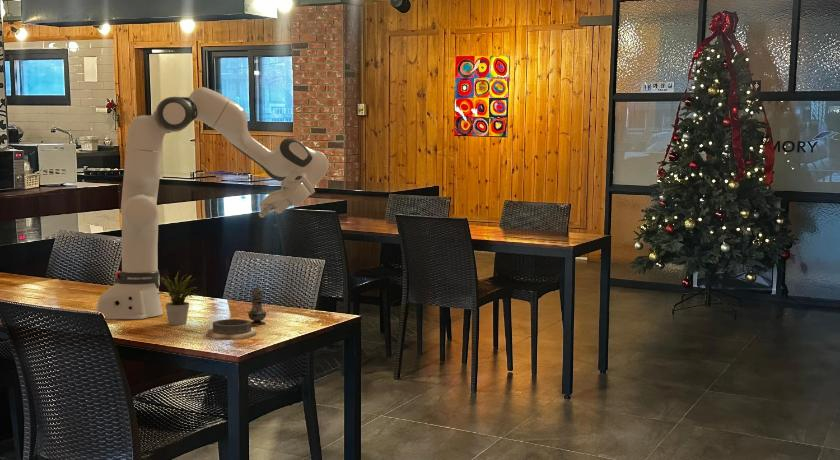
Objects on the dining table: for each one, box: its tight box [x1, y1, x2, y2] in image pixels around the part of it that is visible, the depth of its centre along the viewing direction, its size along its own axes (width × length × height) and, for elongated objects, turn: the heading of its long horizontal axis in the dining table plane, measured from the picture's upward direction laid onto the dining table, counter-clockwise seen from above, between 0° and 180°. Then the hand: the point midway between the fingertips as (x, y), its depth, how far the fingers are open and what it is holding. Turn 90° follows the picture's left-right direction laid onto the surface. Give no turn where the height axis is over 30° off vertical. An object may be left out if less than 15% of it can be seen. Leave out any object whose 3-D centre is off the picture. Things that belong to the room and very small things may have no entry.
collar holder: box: [206, 318, 258, 340], centre depth 270 cm, size 14×14×4 cm
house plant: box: [153, 270, 198, 326], centre depth 284 cm, size 14×14×16 cm
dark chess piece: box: [247, 285, 268, 326], centre depth 287 cm, size 6×6×12 cm
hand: (269, 213), depth 298 cm, fingers open, 8 cm apart
